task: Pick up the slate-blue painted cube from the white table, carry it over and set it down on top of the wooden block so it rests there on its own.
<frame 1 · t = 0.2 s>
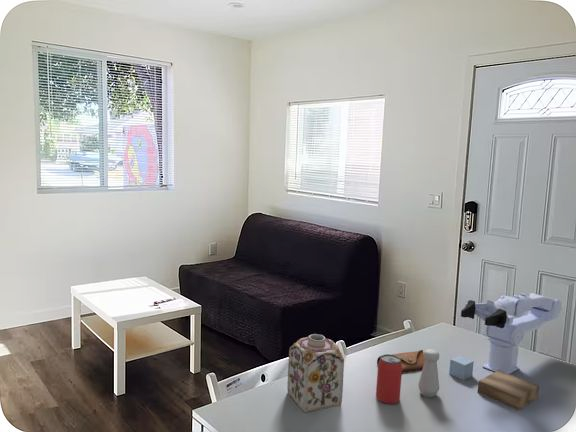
hand: (473, 317, 143), 21 cm above the table, tool horizontal, fingers open, 7 cm apart
salt shaker: (427, 394, 139), on the table
decorative jar: (313, 399, 134), on the table
blue cube: (460, 375, 152), on the table
sunglasses case: (406, 368, 157), on the table
beer can: (387, 399, 135), on the table
wooden block: (507, 396, 141), on the table
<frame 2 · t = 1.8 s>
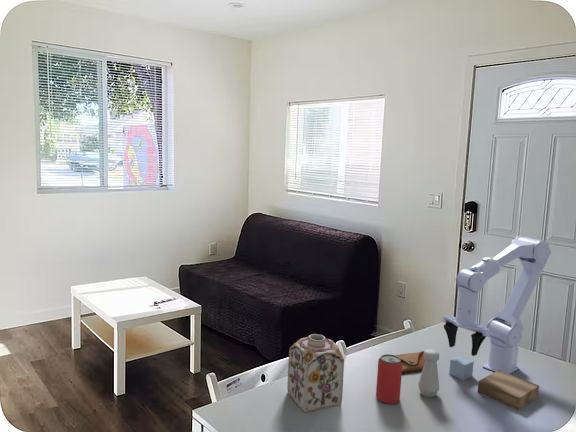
hand: (462, 350, 151), 8 cm above the table, tool pointing down, fingers open, 7 cm apart
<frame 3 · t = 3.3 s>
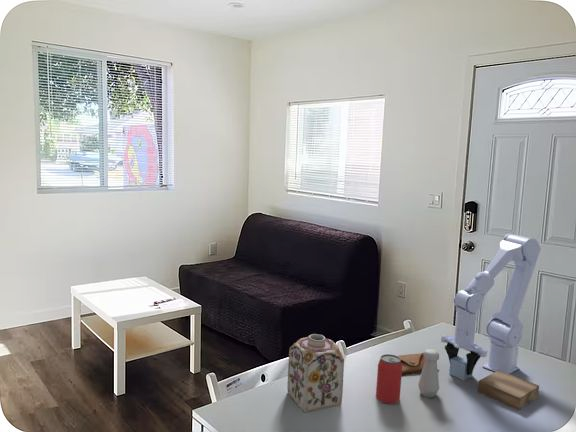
hand: (461, 370, 152), 1 cm above the table, tool pointing down, fingers closed on blue cube, 5 cm apart
blue cube: (460, 375, 152), on the table, touching gripper
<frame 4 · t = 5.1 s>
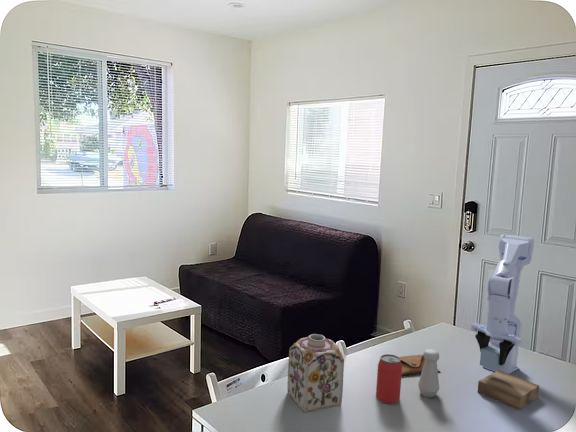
hand: (492, 360, 143), 8 cm above the table, tool pointing down, fingers closed on blue cube, 5 cm apart
blue cube: (491, 365, 144), point 7 cm above the table, touching gripper
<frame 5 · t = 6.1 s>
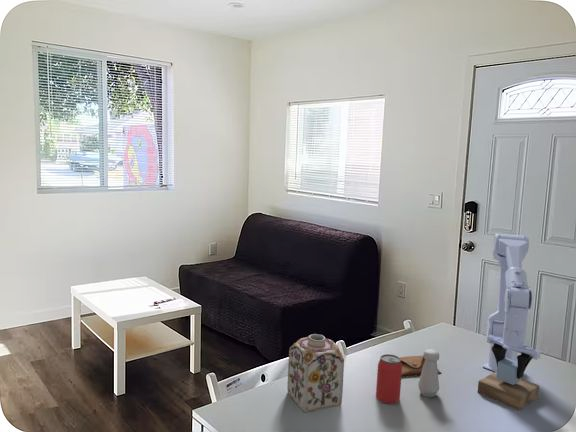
hand: (509, 373, 140), 6 cm above the table, tool pointing down, fingers closed on blue cube, 5 cm apart
blue cube: (508, 379, 140), point 5 cm above the table, touching gripper
when the fingers open (6 cm above the table, at t = 6.8 s): blue cube drops 1 cm, point 4 cm above the table.
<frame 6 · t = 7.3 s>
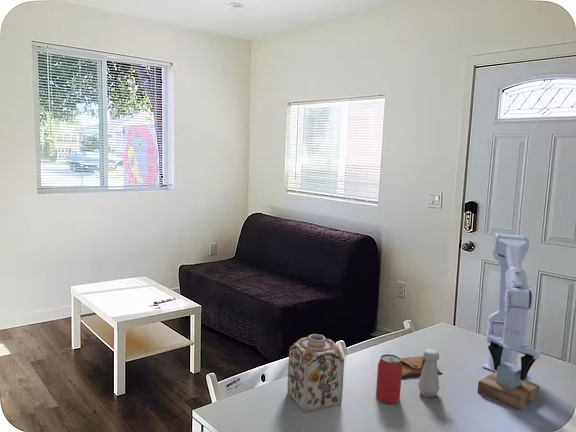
hand: (509, 373, 140), 6 cm above the table, tool pointing down, fingers open, 7 cm apart
blue cube: (508, 383, 140), point 4 cm above the table
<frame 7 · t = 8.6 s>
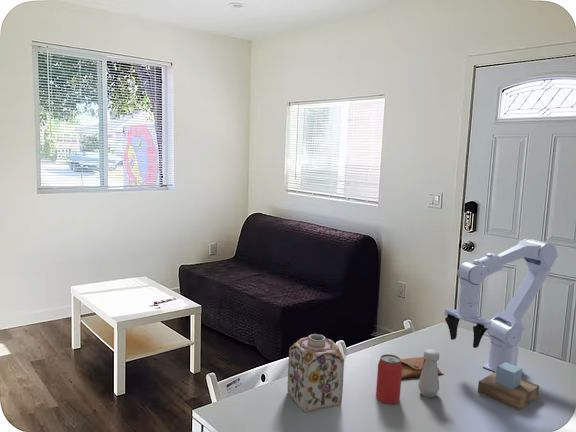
hand: (464, 342, 152), 10 cm above the table, tool pointing down, fingers open, 7 cm apart
blue cube: (507, 383, 140), point 4 cm above the table, touching wooden block
wooden block: (507, 396, 141), on the table, touching blue cube
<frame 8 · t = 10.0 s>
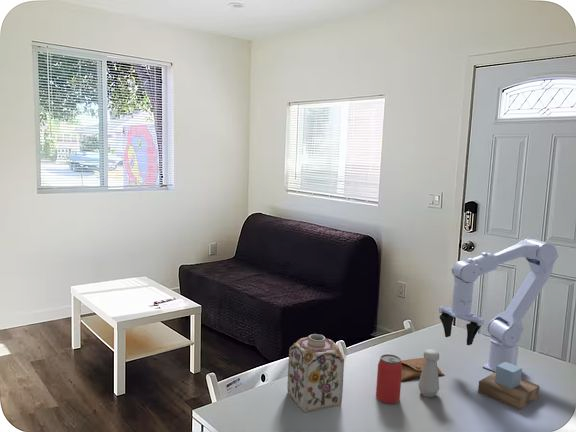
hand: (458, 340, 154), 10 cm above the table, tool pointing down, fingers open, 7 cm apart
at the end: blue cube inside the target area on the wooden block (0.5 cm from its centre), point 4.0 cm above the wooden block's base; blue cube tilted 1°; the gripper is holding nothing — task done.
